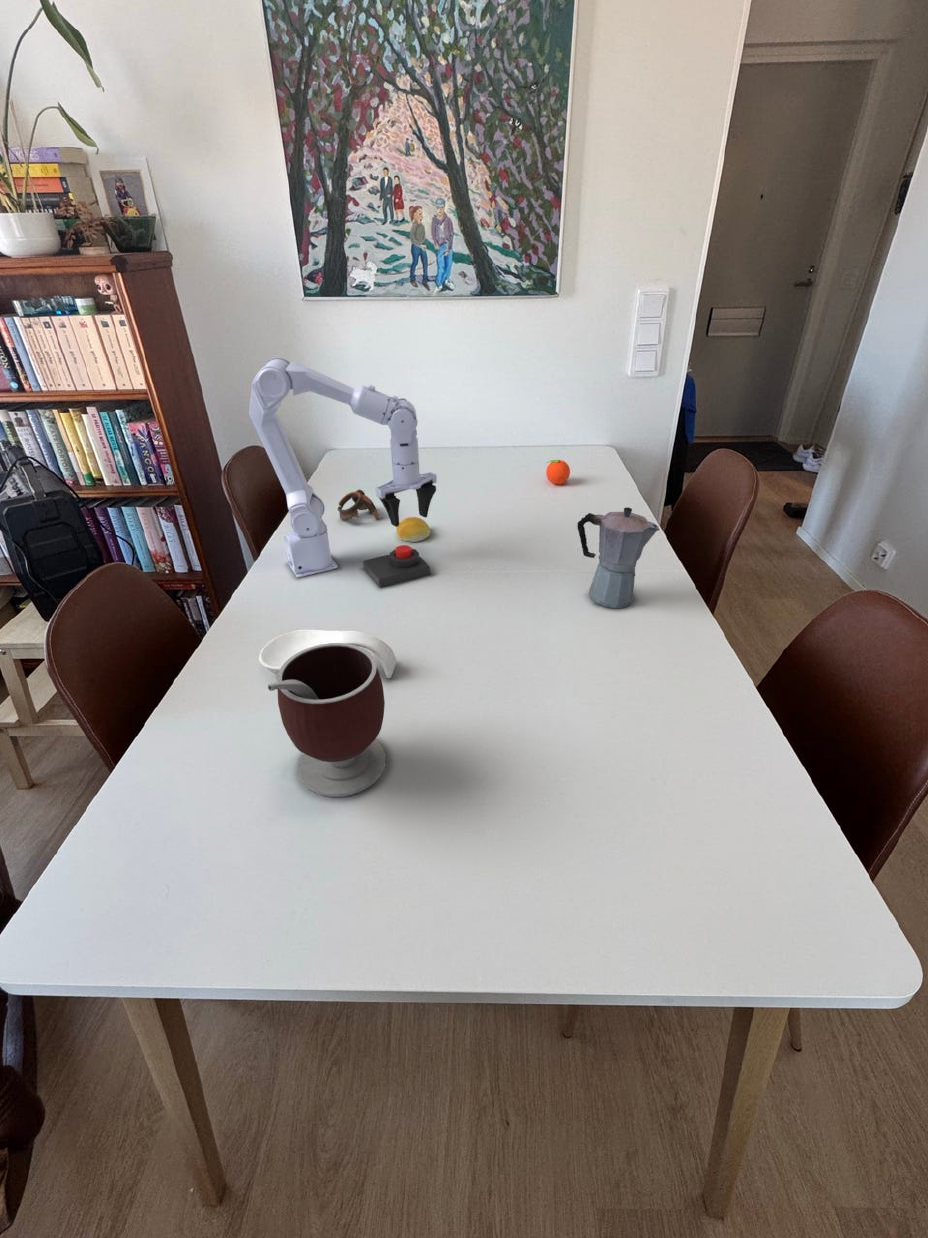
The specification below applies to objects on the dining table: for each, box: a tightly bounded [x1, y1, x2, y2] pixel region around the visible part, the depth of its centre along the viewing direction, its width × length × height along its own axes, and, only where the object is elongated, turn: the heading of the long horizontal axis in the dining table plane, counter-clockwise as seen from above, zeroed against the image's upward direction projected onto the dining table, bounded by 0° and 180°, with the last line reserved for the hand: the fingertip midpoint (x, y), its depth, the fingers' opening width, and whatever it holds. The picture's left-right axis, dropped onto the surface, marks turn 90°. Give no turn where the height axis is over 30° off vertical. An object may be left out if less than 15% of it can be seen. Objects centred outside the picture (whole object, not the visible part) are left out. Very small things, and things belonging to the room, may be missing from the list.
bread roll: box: [395, 516, 432, 543], centre depth 155 cm, size 8×9×4 cm
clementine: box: [545, 459, 571, 485], centre depth 183 cm, size 8×7×7 cm
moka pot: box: [576, 506, 660, 609], centre depth 124 cm, size 10×15×20 cm, turn 78°
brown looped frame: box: [337, 489, 379, 521], centre depth 165 cm, size 12×10×8 cm
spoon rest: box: [258, 629, 397, 679], centre depth 109 cm, size 24×12×7 cm, turn 83°
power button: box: [394, 544, 413, 559], centre depth 139 cm, size 4×4×2 cm
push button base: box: [362, 548, 431, 589], centre depth 139 cm, size 12×10×4 cm
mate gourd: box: [267, 643, 387, 798], centre depth 85 cm, size 16×14×20 cm
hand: (409, 520), depth 140 cm, fingers open, 7 cm apart
